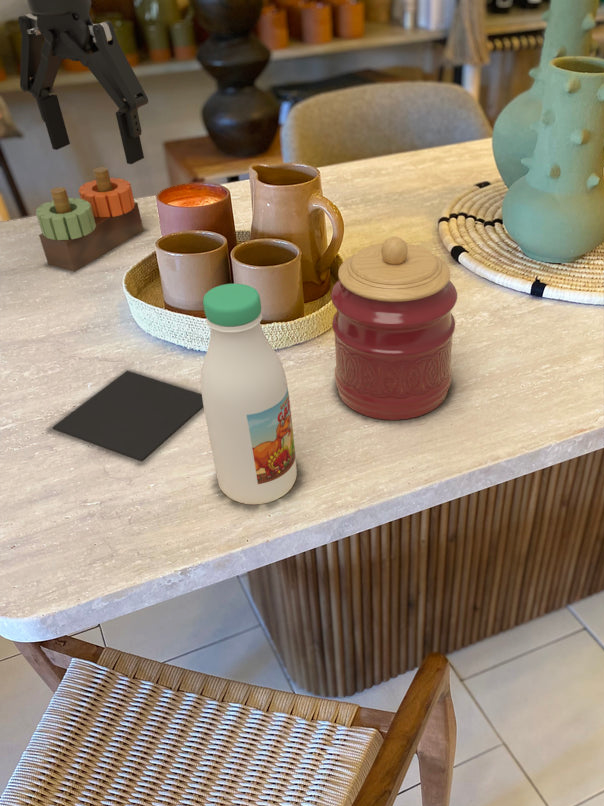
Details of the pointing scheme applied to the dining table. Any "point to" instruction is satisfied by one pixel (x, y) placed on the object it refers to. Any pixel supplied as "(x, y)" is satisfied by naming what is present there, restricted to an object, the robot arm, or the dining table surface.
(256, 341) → the milk bottle
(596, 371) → the dining table surface
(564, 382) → the dining table surface
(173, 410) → the mat
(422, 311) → the kitchen canister
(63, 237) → the green disc
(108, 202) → the orange gear
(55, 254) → the peg rack
